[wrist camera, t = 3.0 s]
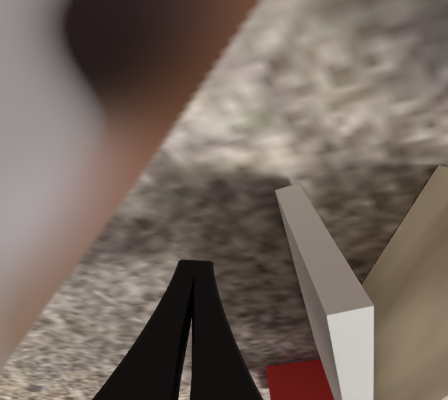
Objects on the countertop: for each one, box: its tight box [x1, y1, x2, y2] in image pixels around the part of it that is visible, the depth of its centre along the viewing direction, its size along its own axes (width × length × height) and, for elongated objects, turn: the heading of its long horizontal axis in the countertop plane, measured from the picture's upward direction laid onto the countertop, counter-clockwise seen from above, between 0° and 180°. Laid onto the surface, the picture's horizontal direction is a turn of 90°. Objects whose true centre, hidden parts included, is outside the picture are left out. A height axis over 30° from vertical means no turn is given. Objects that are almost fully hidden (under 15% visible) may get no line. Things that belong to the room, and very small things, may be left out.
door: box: [275, 183, 374, 400], centre depth 11 cm, size 1×13×6 cm, turn 19°
